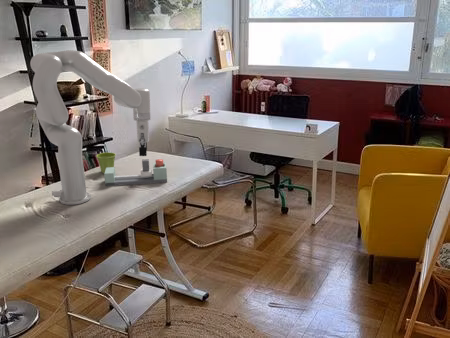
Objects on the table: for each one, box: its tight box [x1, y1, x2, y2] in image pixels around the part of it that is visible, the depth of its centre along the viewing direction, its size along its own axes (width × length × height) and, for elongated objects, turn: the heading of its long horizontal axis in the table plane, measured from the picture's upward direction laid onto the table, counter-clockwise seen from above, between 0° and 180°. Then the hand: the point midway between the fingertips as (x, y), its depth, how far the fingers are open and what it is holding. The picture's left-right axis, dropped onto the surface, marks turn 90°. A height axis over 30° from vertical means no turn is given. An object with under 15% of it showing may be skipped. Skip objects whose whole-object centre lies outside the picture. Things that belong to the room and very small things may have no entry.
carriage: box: [140, 158, 153, 177], centre depth 208 cm, size 5×6×7 cm
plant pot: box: [95, 152, 117, 174], centre depth 222 cm, size 9×9×9 cm
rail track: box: [103, 161, 168, 187], centre depth 209 cm, size 28×9×7 cm, turn 99°
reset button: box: [154, 158, 164, 167], centre depth 209 cm, size 4×4×3 cm
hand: (143, 153), depth 206 cm, fingers open, 9 cm apart
